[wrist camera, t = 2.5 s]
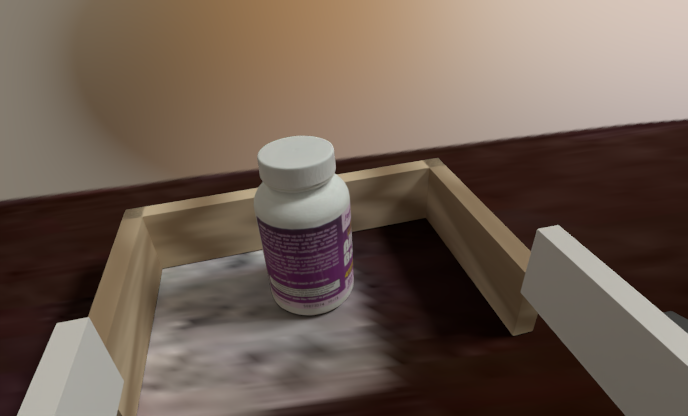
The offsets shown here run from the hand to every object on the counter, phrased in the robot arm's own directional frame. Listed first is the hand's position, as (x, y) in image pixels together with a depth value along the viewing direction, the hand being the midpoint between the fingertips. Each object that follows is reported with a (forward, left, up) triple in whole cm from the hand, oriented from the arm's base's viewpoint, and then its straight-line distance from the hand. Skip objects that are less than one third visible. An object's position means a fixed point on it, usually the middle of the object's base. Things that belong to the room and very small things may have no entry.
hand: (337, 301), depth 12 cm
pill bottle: (0, -11, -10) cm, 15 cm away
